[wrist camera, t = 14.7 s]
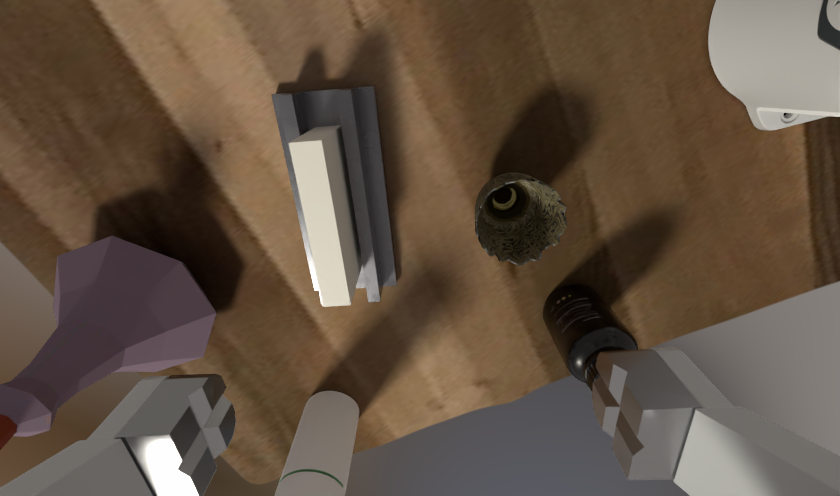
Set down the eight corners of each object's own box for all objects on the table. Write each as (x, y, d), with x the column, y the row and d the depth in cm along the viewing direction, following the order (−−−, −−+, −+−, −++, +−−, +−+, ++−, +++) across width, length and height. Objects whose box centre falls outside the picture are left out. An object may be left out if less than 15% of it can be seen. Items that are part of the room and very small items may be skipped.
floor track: (275, 93, 35) (258, 96, 31) (374, 85, 35) (369, 87, 31) (316, 285, 43) (307, 306, 40) (397, 280, 43) (395, 300, 40)
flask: (55, 283, 43) (-208, 439, 25) (133, 187, 39) (-120, 293, 21) (182, 368, 49) (39, 548, 30) (265, 292, 44) (155, 451, 26)
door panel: (315, 127, 35) (288, 142, 28) (341, 125, 35) (321, 140, 28) (340, 264, 41) (323, 306, 34) (363, 262, 41) (350, 304, 34)
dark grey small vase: (508, 141, 37) (529, 159, 30) (555, 194, 39) (586, 224, 32) (450, 195, 39) (456, 224, 32) (498, 243, 41) (514, 280, 34)
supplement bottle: (612, 312, 45) (673, 390, 34) (559, 341, 47) (602, 425, 36) (583, 270, 43) (639, 340, 32) (529, 303, 44) (565, 379, 33)
